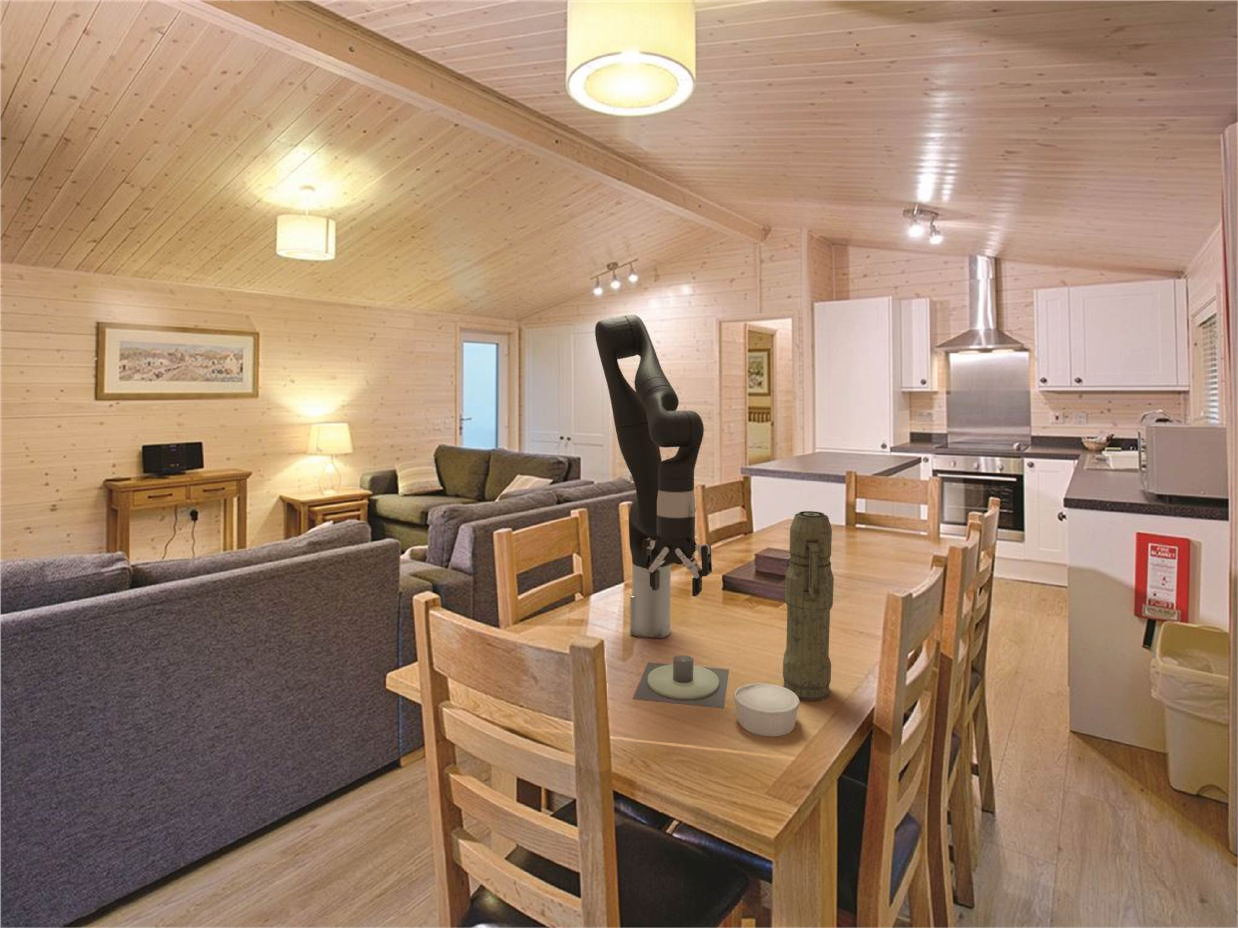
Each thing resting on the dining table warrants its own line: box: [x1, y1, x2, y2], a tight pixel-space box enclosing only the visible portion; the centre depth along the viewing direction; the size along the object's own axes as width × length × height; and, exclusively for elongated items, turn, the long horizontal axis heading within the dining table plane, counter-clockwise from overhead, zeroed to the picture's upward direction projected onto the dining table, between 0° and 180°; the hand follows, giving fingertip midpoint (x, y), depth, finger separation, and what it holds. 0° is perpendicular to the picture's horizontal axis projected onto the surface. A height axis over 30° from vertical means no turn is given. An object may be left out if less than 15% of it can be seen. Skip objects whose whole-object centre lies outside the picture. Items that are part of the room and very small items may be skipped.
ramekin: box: [733, 682, 800, 737], centre depth 113 cm, size 11×11×5 cm
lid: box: [648, 654, 719, 700], centre depth 128 cm, size 14×14×5 cm
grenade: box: [782, 510, 835, 702], centre depth 124 cm, size 9×12×35 cm
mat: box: [632, 661, 730, 709], centre depth 129 cm, size 17×17×1 cm
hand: (675, 592), depth 130 cm, fingers open, 8 cm apart
